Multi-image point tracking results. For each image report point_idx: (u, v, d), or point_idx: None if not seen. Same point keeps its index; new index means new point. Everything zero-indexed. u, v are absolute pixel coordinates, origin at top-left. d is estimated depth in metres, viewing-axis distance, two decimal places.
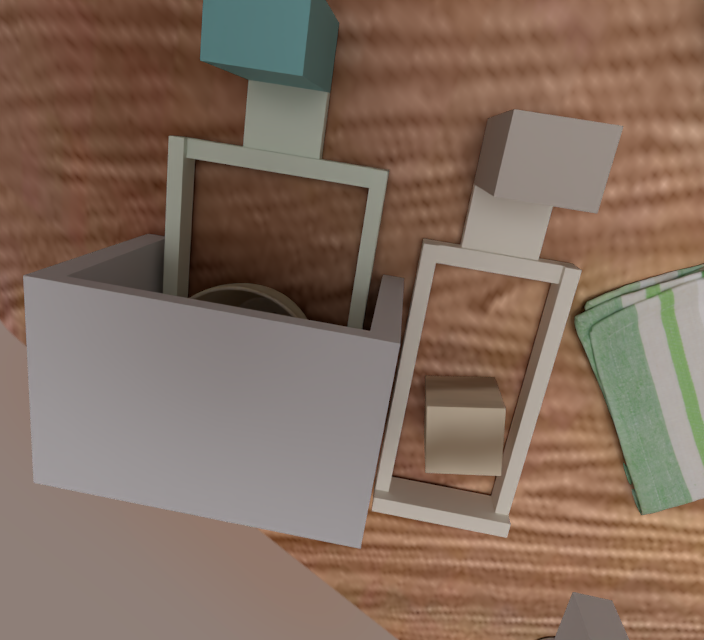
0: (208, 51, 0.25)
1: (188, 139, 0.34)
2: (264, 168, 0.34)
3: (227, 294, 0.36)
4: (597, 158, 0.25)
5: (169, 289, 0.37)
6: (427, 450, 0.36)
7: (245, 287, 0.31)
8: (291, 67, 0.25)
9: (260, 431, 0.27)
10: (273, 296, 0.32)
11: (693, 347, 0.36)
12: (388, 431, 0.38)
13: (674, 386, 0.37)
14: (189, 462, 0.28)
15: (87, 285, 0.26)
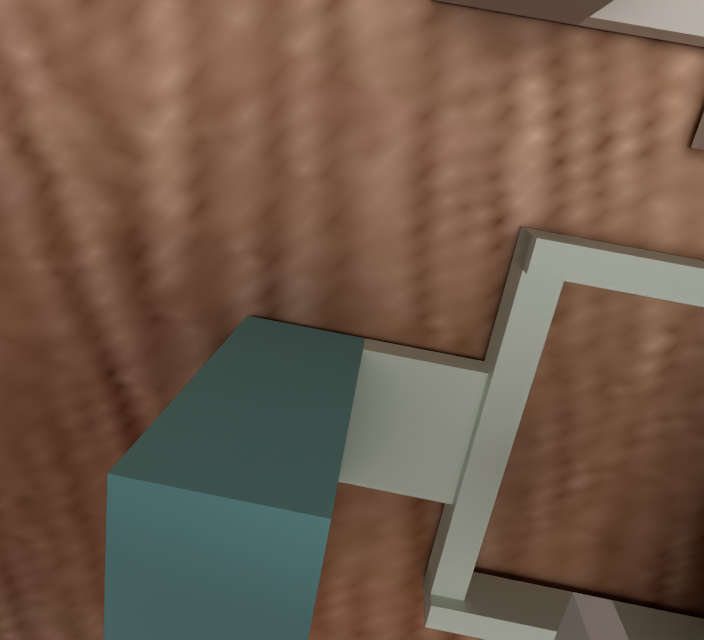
0: None
1: (432, 592, 0.19)
2: (497, 479, 0.17)
3: None
4: None
5: None
6: None
7: None
8: (309, 541, 0.09)
9: None
10: None
11: None
12: None
13: None
14: None
15: None
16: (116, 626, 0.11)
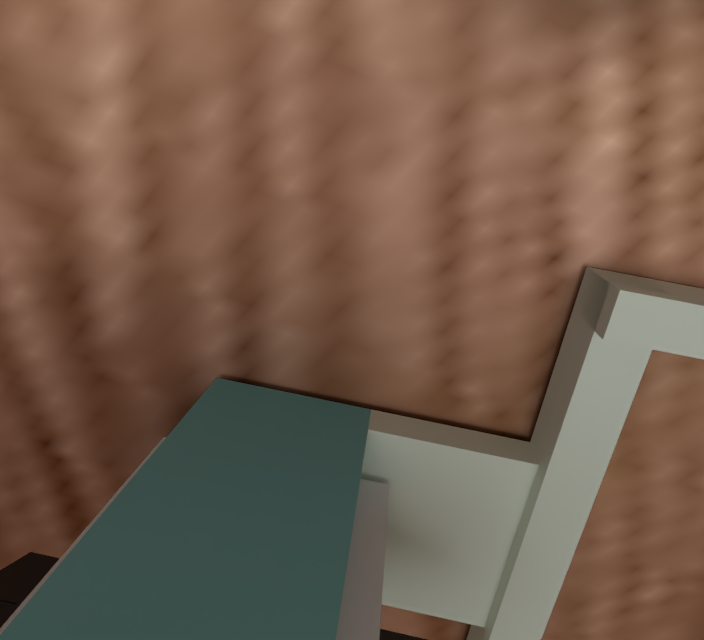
0: None
1: None
2: (549, 604, 0.13)
3: None
4: None
5: None
6: None
7: None
8: None
9: None
10: None
11: None
12: None
13: None
14: None
15: None
16: None
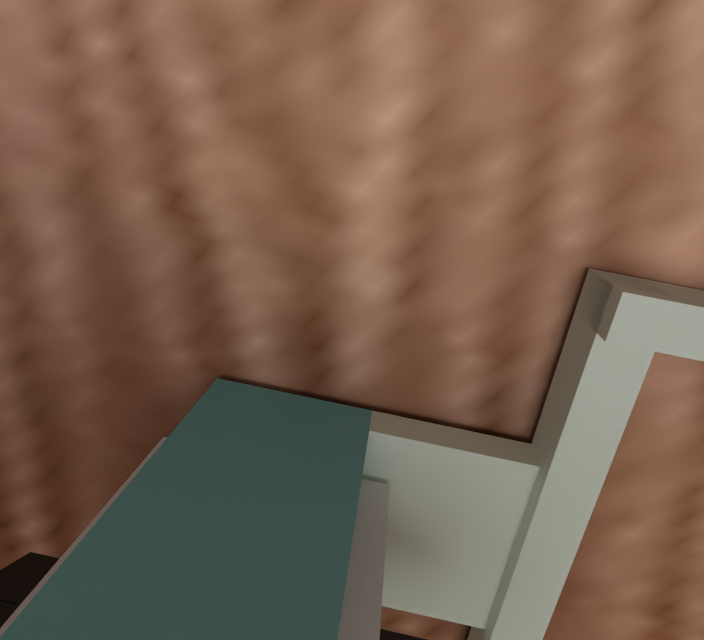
0: None
1: None
2: (550, 606, 0.13)
3: None
4: None
5: None
6: None
7: None
8: None
9: None
10: None
11: None
12: None
13: None
14: None
15: None
16: None
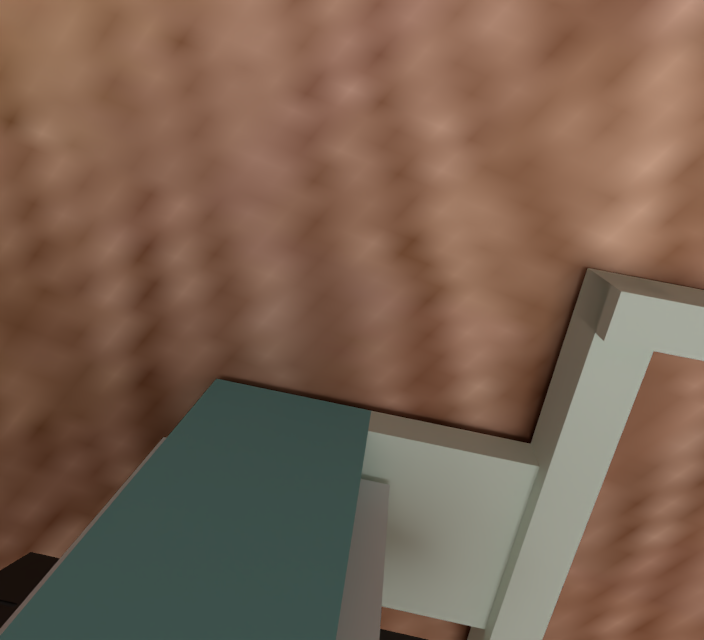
0: None
1: None
2: (549, 606, 0.13)
3: None
4: None
5: None
6: None
7: None
8: None
9: None
10: None
11: None
12: None
13: None
14: None
15: None
16: None
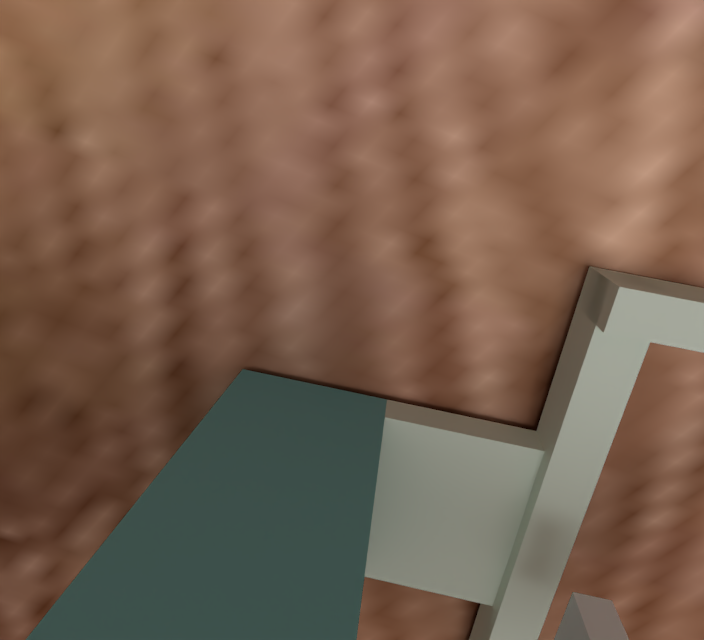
0: None
1: None
2: (553, 582, 0.14)
3: None
4: None
5: None
6: None
7: None
8: None
9: None
10: None
11: None
12: None
13: None
14: None
15: None
16: None
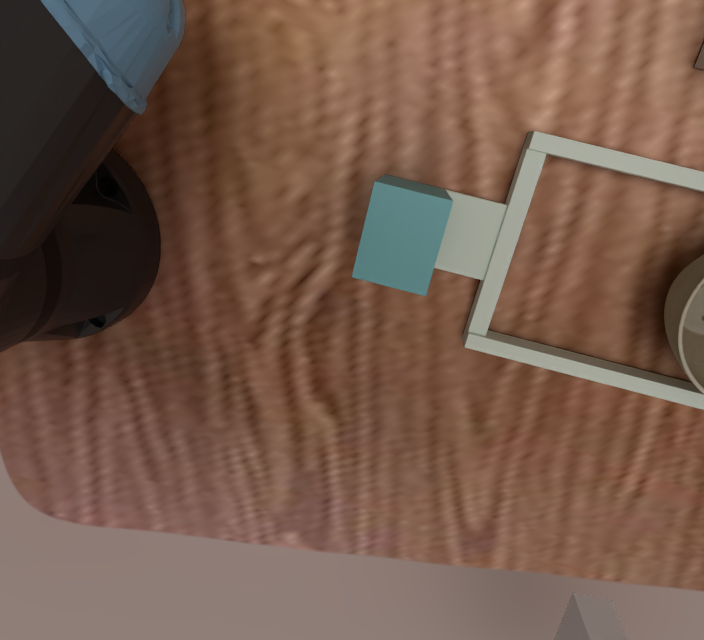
0: (419, 287, 0.28)
1: (469, 330, 0.36)
2: (508, 261, 0.34)
3: None
4: None
5: (616, 379, 0.35)
6: None
7: (685, 303, 0.29)
8: (444, 211, 0.26)
9: None
10: (703, 275, 0.28)
11: None
12: None
13: None
14: None
15: None
16: (362, 251, 0.28)
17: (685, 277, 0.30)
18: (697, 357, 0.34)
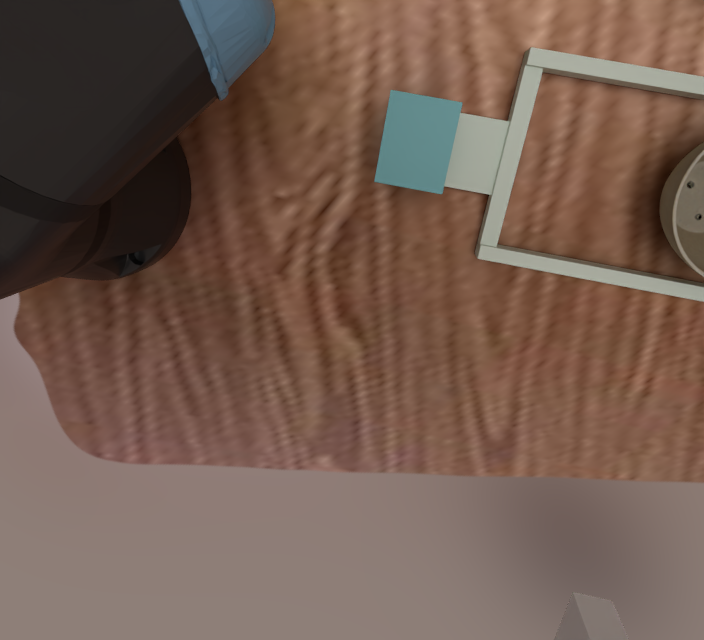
0: (436, 186, 0.31)
1: (481, 243, 0.39)
2: (513, 174, 0.37)
3: None
4: None
5: (619, 278, 0.38)
6: None
7: (677, 189, 0.32)
8: (454, 112, 0.29)
9: None
10: (691, 161, 0.31)
11: None
12: None
13: None
14: None
15: None
16: (383, 156, 0.31)
17: (676, 170, 0.33)
18: (693, 250, 0.37)
